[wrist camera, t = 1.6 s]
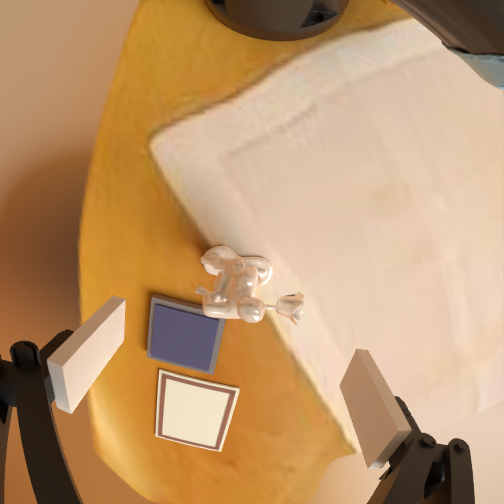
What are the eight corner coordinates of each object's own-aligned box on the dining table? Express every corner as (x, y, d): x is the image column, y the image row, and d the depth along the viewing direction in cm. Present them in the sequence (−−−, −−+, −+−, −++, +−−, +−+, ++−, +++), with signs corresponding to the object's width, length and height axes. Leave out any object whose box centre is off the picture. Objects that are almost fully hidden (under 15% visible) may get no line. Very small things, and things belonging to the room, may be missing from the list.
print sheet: (160, 368, 33) (159, 370, 33) (240, 387, 34) (240, 389, 33) (156, 434, 37) (155, 436, 36) (221, 450, 37) (220, 452, 37)
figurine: (203, 237, 29) (168, 279, 17) (297, 244, 29) (322, 291, 17) (201, 283, 30) (171, 347, 19) (292, 290, 30) (310, 358, 19)
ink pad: (154, 293, 31) (150, 298, 29) (227, 311, 31) (226, 317, 30) (149, 352, 33) (146, 358, 31) (214, 369, 33) (213, 376, 32)
